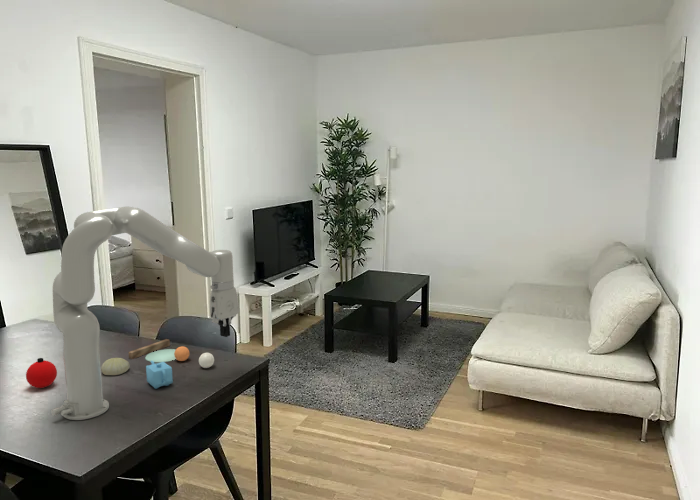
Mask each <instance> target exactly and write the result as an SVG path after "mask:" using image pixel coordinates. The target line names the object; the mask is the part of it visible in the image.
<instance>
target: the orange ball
mask: <svg viewBox="0 0 700 500" xmlns="http://www.w3.org/2000/svg"><path fill="white" fill-rule="evenodd" d="M174 356H175V358H176V360H177V361H179V362H184V361H187V359H189V357H190V350H189V348H188V347H186V346H183V345H182V346H178V347H177V348H176V350H175V353H174Z"/></svg>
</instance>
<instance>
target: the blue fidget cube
mask: <svg viewBox="0 0 700 500" xmlns="http://www.w3.org/2000/svg"><path fill="white" fill-rule="evenodd" d="M150 363H151V364H149V365H146V366H145V371H146V372H145V373H146V382H147V383H148V384H149V385H150V386H152V387H153V388H154V389H155V390H156V389H159V388H160V387H164V386H165V387H166V386H170V385H172V384H173V383H174V381H173V368H172V366H171V365H169V364H167V362H154V361H151V362H150Z"/></svg>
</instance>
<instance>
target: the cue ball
mask: <svg viewBox="0 0 700 500" xmlns="http://www.w3.org/2000/svg"><path fill="white" fill-rule="evenodd" d="M198 363H199V366H201V367H202V368H204V369H209V368H210V367H212V366H213V365H214V363H215V357H214V355H213V354H212V353H210V352H203V353H202V354H201V355H200V356H199V358H198Z"/></svg>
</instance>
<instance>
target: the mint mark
mask: <svg viewBox="0 0 700 500" xmlns="http://www.w3.org/2000/svg"><path fill="white" fill-rule="evenodd" d="M176 349H177V348H176ZM176 349H175V348H163V349H159V350H157V351H154V352H151V353H148V354H145V358H144V359H145V361H147V362H150V363H151V361H154V363H161V362H165V363H167V362H172V360H173V361H176V360H177V359H176V358H175V356H174V353H175V350H176ZM175 359H176V360H175Z"/></svg>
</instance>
